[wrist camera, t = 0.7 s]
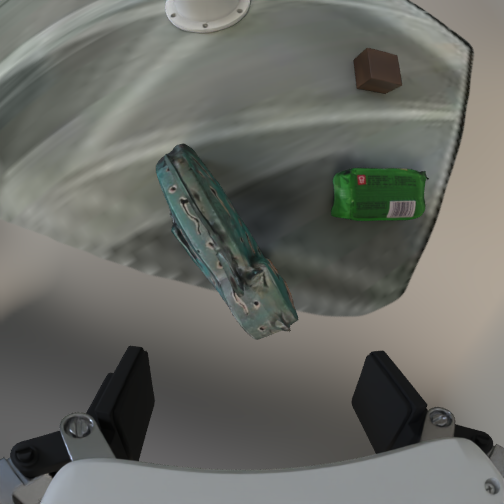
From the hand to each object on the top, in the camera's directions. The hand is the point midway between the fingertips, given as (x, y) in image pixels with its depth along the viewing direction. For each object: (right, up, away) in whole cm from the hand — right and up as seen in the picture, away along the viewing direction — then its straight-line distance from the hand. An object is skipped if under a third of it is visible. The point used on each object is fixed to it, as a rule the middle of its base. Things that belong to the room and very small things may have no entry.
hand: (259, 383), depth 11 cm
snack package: (+18, +14, +27) cm, 35 cm away
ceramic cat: (-4, +9, +27) cm, 29 cm away
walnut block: (+17, +31, +23) cm, 42 cm away
